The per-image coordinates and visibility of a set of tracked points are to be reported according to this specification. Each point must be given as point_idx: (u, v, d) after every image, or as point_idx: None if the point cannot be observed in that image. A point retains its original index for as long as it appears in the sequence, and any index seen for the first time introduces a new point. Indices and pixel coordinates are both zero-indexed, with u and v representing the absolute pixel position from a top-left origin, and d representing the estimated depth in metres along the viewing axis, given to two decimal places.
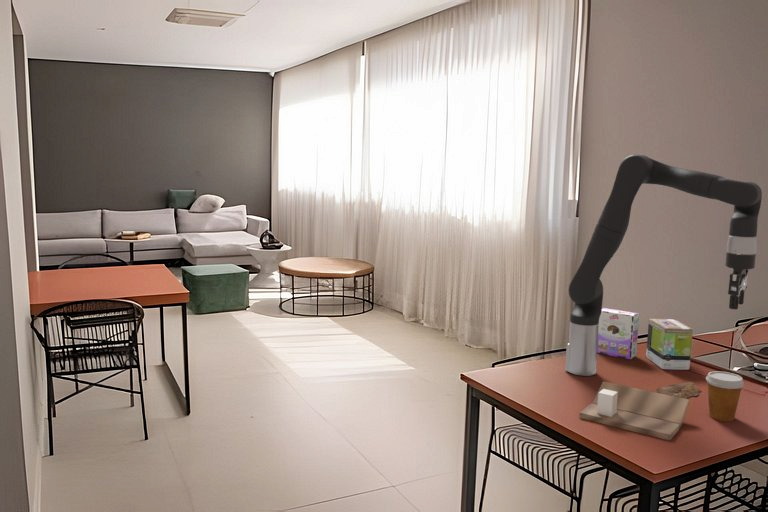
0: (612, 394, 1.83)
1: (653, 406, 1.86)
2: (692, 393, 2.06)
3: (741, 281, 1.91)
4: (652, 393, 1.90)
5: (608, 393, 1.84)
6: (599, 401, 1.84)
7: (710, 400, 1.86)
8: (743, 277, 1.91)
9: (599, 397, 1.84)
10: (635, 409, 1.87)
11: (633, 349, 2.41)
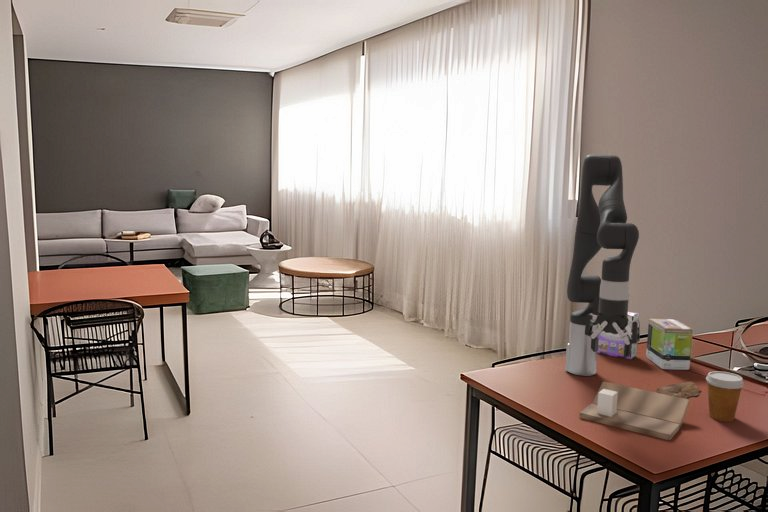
0: (612, 394, 1.83)
1: (653, 406, 1.86)
2: (692, 392, 2.06)
3: None
4: (652, 393, 1.90)
5: (608, 393, 1.84)
6: (599, 401, 1.84)
7: (710, 400, 1.86)
8: None
9: (599, 397, 1.84)
10: (635, 409, 1.87)
11: (633, 349, 2.41)
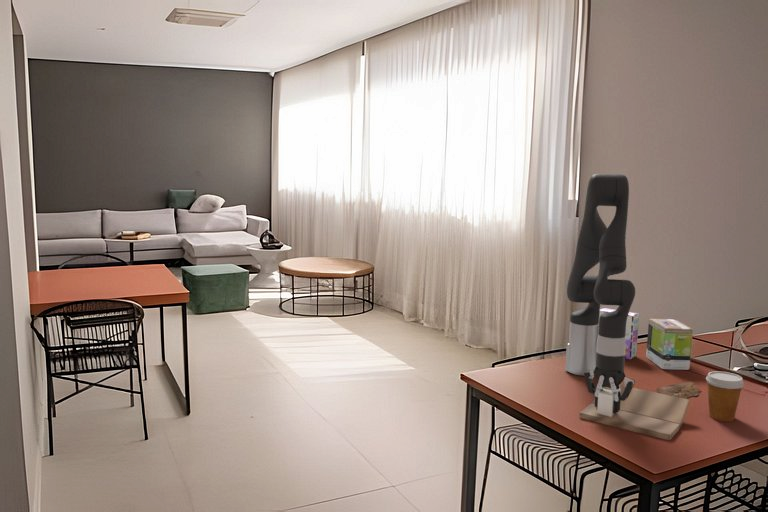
0: (612, 394, 1.83)
1: (653, 406, 1.86)
2: (692, 393, 2.06)
3: None
4: (652, 393, 1.90)
5: (608, 393, 1.84)
6: (599, 401, 1.84)
7: (710, 400, 1.86)
8: None
9: (599, 397, 1.84)
10: (635, 409, 1.87)
11: (633, 349, 2.41)
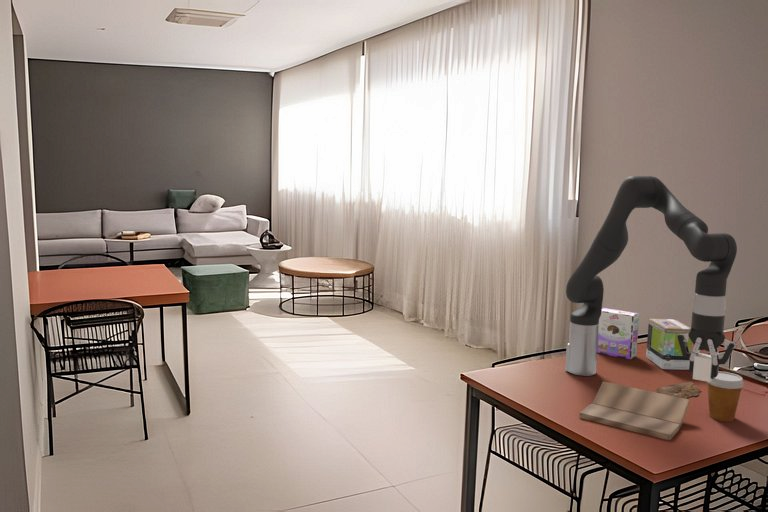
0: (710, 358, 1.70)
1: (653, 406, 1.86)
2: (692, 393, 2.06)
3: None
4: (652, 393, 1.90)
5: (705, 357, 1.71)
6: (695, 365, 1.71)
7: (710, 400, 1.86)
8: None
9: (696, 361, 1.71)
10: (635, 409, 1.87)
11: (633, 349, 2.41)
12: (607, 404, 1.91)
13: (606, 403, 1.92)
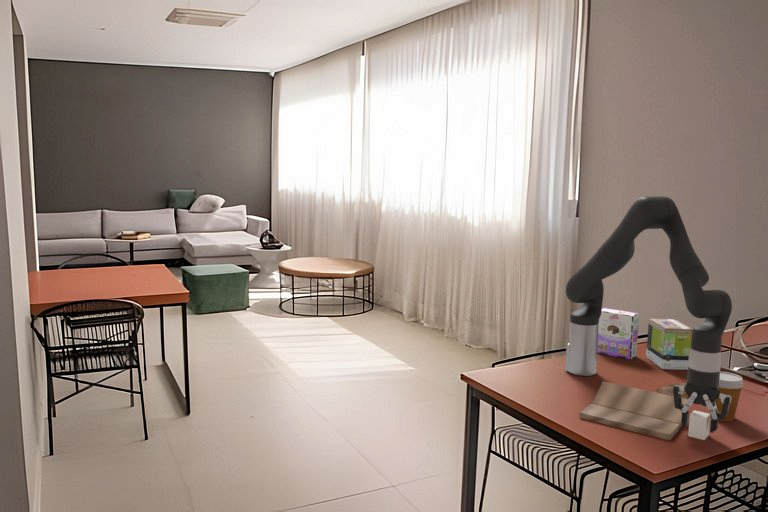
0: (706, 417, 1.72)
1: (653, 406, 1.86)
2: None
3: None
4: (652, 393, 1.90)
5: (700, 415, 1.73)
6: (690, 424, 1.73)
7: None
8: None
9: (691, 419, 1.73)
10: (635, 409, 1.87)
11: (633, 349, 2.41)
12: (607, 404, 1.91)
13: (606, 403, 1.92)
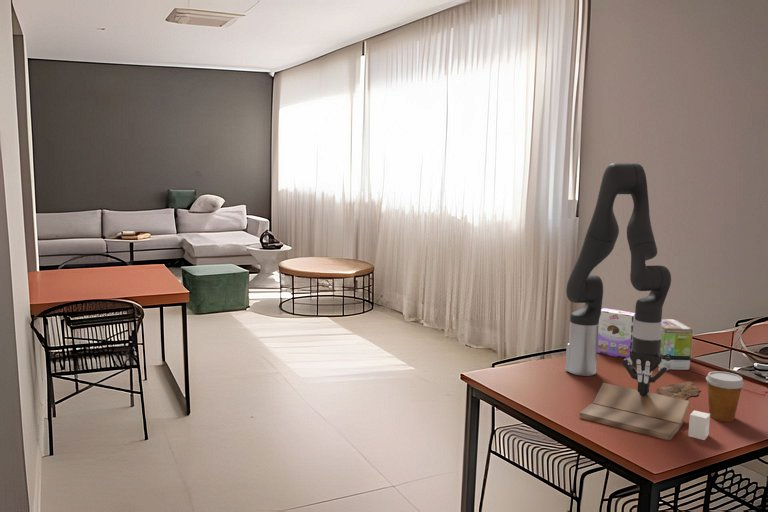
0: (706, 417, 1.72)
1: (653, 407, 1.86)
2: (692, 392, 2.06)
3: None
4: (652, 394, 1.90)
5: (700, 415, 1.73)
6: (691, 424, 1.73)
7: (710, 400, 1.86)
8: None
9: (691, 419, 1.73)
10: (636, 409, 1.87)
11: None
12: (607, 404, 1.91)
13: (606, 403, 1.92)
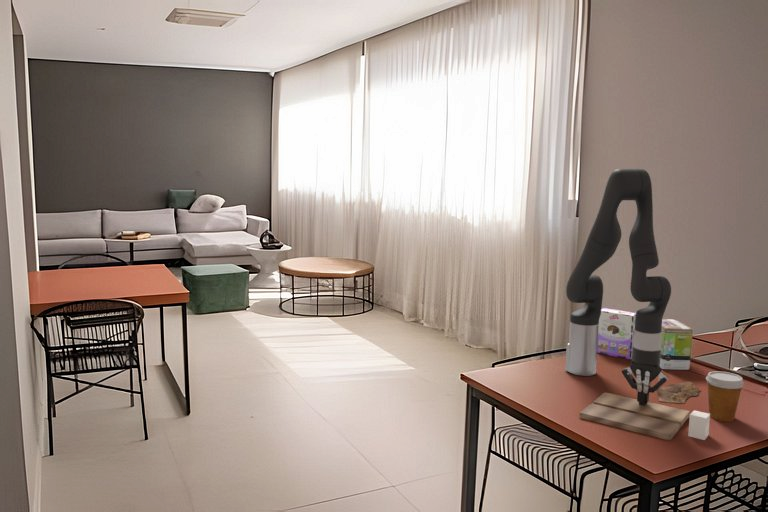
0: (706, 417, 1.72)
1: (654, 410, 1.87)
2: (692, 392, 2.06)
3: None
4: (653, 403, 1.92)
5: (700, 415, 1.73)
6: (690, 424, 1.73)
7: (710, 400, 1.86)
8: None
9: (691, 419, 1.73)
10: (636, 409, 1.88)
11: None
12: (607, 404, 1.92)
13: (607, 403, 1.92)
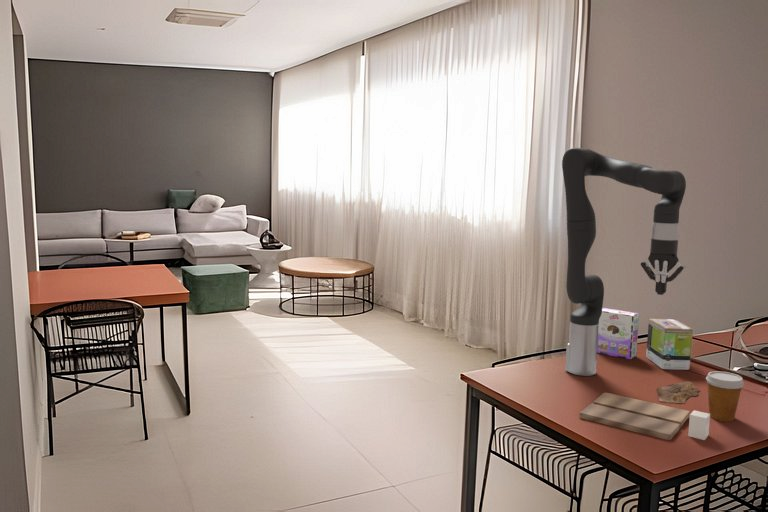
0: (706, 417, 1.72)
1: (654, 410, 1.87)
2: (692, 392, 2.06)
3: None
4: (653, 403, 1.92)
5: (700, 415, 1.73)
6: (691, 424, 1.73)
7: (710, 400, 1.86)
8: None
9: (691, 419, 1.73)
10: (636, 409, 1.88)
11: (633, 349, 2.41)
12: (607, 404, 1.92)
13: (607, 403, 1.92)
